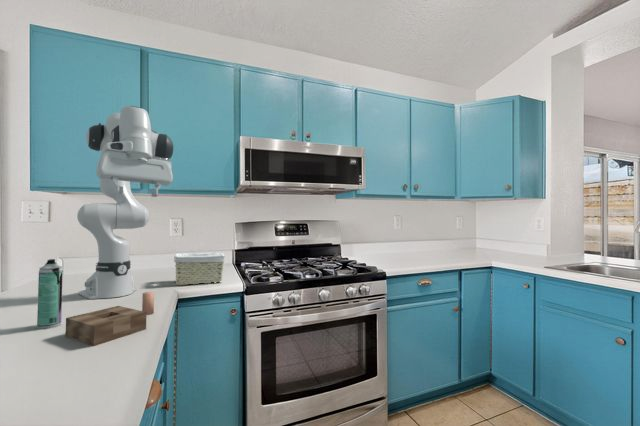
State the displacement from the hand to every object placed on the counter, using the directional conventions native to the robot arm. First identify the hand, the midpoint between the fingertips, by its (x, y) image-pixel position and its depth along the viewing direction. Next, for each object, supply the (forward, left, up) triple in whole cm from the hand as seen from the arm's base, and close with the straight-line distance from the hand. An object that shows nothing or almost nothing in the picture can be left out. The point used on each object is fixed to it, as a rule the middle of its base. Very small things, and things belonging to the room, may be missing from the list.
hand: (137, 194), depth 94 cm
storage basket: (-38, +58, -40) cm, 80 cm away
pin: (-10, +11, -40) cm, 43 cm away
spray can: (-24, -11, -40) cm, 48 cm away
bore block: (-3, -6, -40) cm, 40 cm away
